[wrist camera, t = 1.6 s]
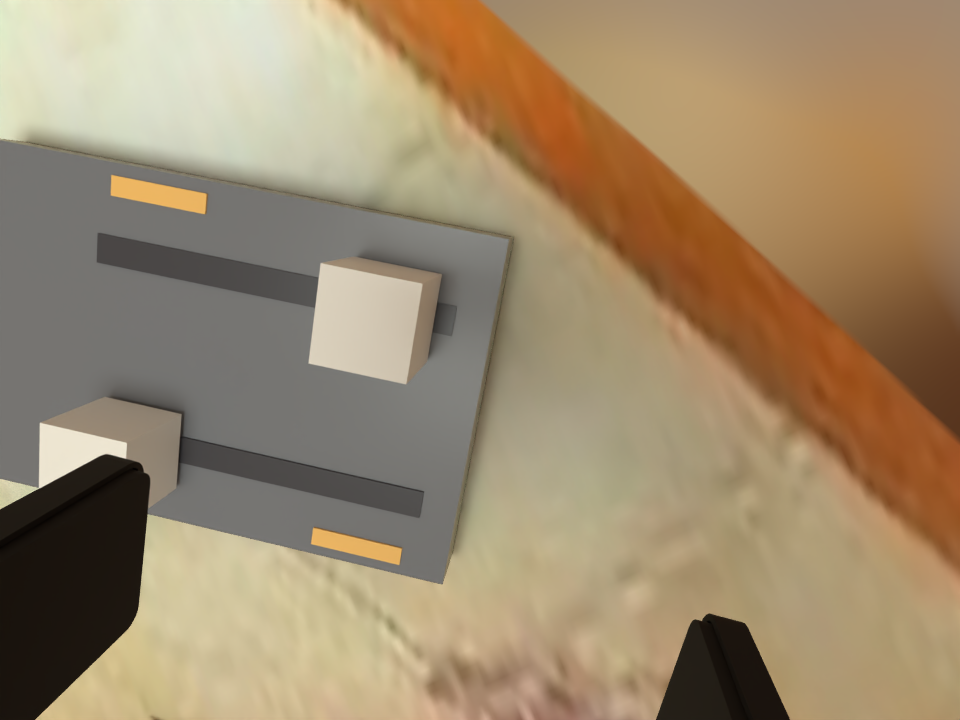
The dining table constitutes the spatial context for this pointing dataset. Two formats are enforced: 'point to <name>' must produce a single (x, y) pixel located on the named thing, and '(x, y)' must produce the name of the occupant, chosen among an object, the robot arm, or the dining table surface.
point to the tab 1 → (113, 441)
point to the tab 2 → (373, 318)
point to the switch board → (242, 350)
